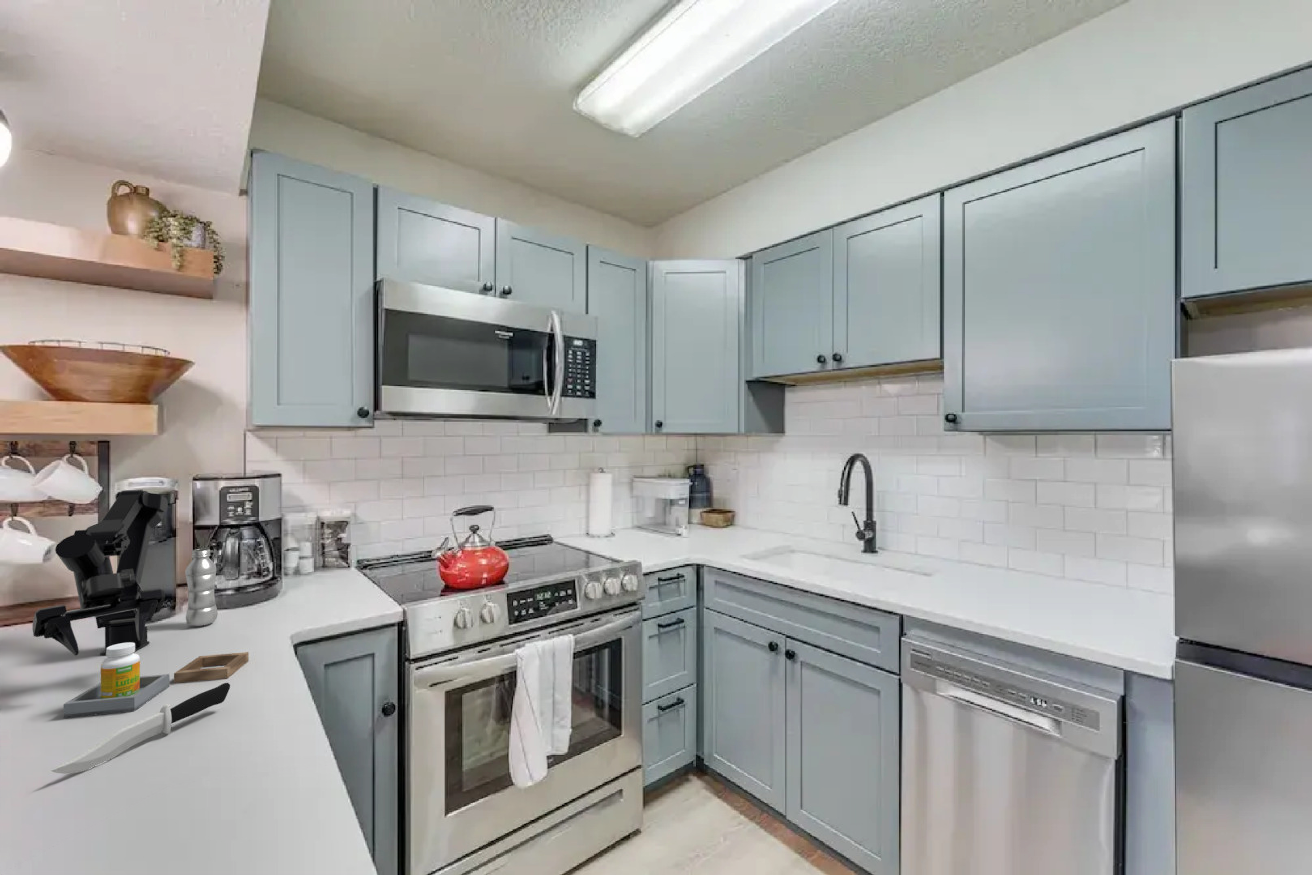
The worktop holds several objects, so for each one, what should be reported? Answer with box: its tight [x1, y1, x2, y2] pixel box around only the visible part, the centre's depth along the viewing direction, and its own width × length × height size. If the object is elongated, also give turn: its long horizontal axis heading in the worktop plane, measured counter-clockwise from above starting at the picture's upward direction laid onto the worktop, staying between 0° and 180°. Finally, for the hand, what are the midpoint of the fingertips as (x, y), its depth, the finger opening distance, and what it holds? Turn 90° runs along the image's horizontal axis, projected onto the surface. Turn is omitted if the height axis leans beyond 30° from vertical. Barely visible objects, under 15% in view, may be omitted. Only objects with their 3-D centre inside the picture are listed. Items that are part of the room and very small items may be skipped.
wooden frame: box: [173, 651, 250, 684], centre depth 121 cm, size 9×9×2 cm
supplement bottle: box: [100, 642, 141, 699], centre depth 108 cm, size 5×5×10 cm
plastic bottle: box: [184, 548, 219, 627], centre depth 152 cm, size 6×7×20 cm
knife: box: [50, 682, 231, 775], centre depth 93 cm, size 25×2×5 cm, turn 163°
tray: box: [63, 673, 171, 719], centre depth 107 cm, size 11×11×2 cm
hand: (110, 646), depth 112 cm, fingers open, 9 cm apart
